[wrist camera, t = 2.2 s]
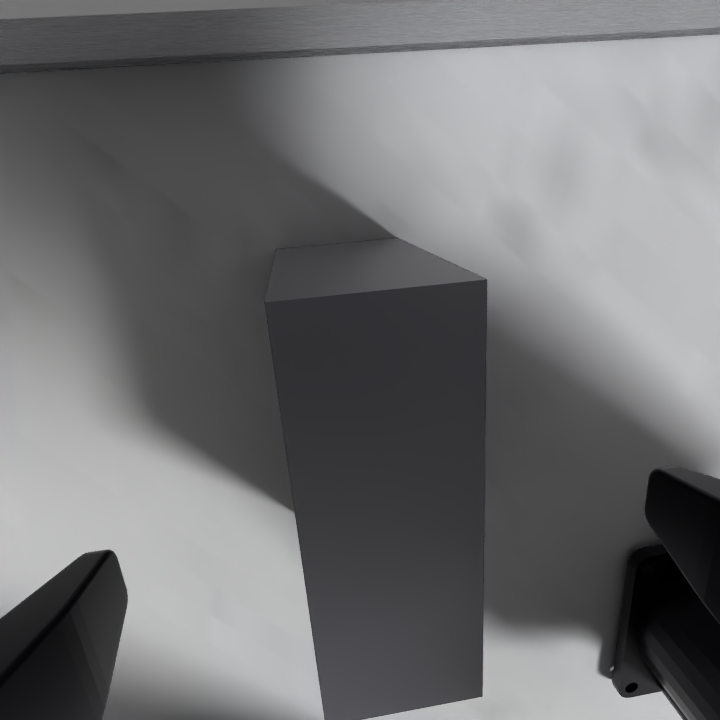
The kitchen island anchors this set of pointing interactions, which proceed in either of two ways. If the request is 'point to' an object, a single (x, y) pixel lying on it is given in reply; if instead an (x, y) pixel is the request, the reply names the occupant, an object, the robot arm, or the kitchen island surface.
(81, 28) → the rack
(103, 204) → the kitchen island surface
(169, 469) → the kitchen island surface
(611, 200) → the kitchen island surface
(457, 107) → the kitchen island surface
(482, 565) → the gray rectangular block
